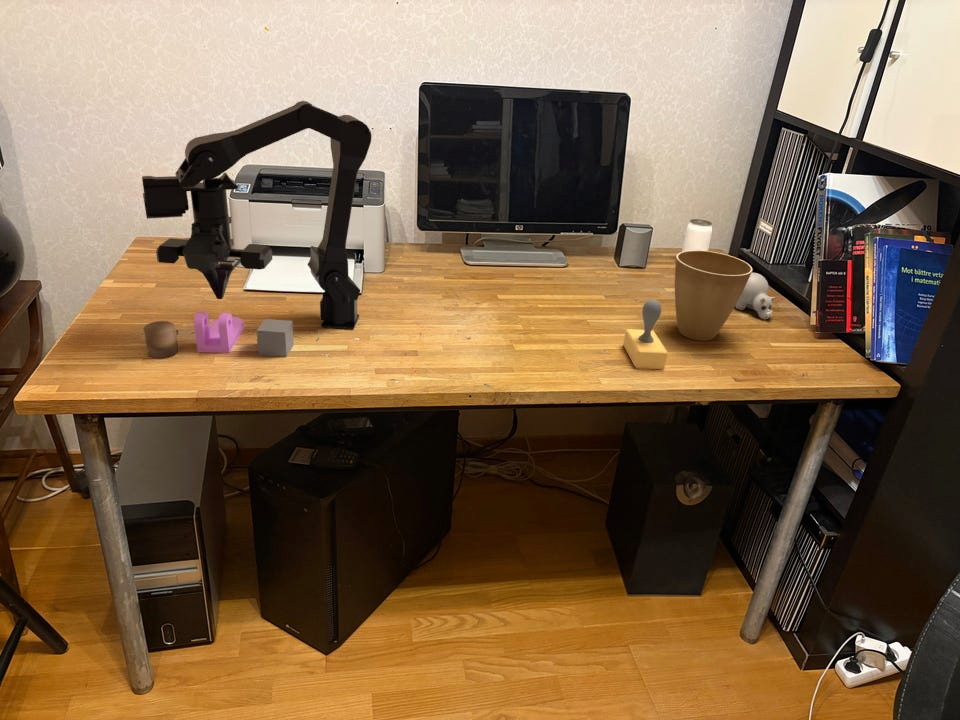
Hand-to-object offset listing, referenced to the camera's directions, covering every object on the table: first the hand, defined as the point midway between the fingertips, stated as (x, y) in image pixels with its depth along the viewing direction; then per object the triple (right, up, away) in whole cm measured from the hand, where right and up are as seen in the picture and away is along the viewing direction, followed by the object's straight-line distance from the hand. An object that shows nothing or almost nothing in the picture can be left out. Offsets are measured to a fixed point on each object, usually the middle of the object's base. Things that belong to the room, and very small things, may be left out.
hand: (220, 298), depth 129 cm
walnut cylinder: (-9, -10, -4) cm, 14 cm away
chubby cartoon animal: (+110, 0, +33) cm, 115 cm away
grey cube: (+10, -10, 0) cm, 14 cm away
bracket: (-1, -7, +3) cm, 8 cm away
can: (+104, +14, +60) cm, 121 cm away
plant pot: (+93, -6, +20) cm, 96 cm away
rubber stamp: (+79, -11, +8) cm, 80 cm away
